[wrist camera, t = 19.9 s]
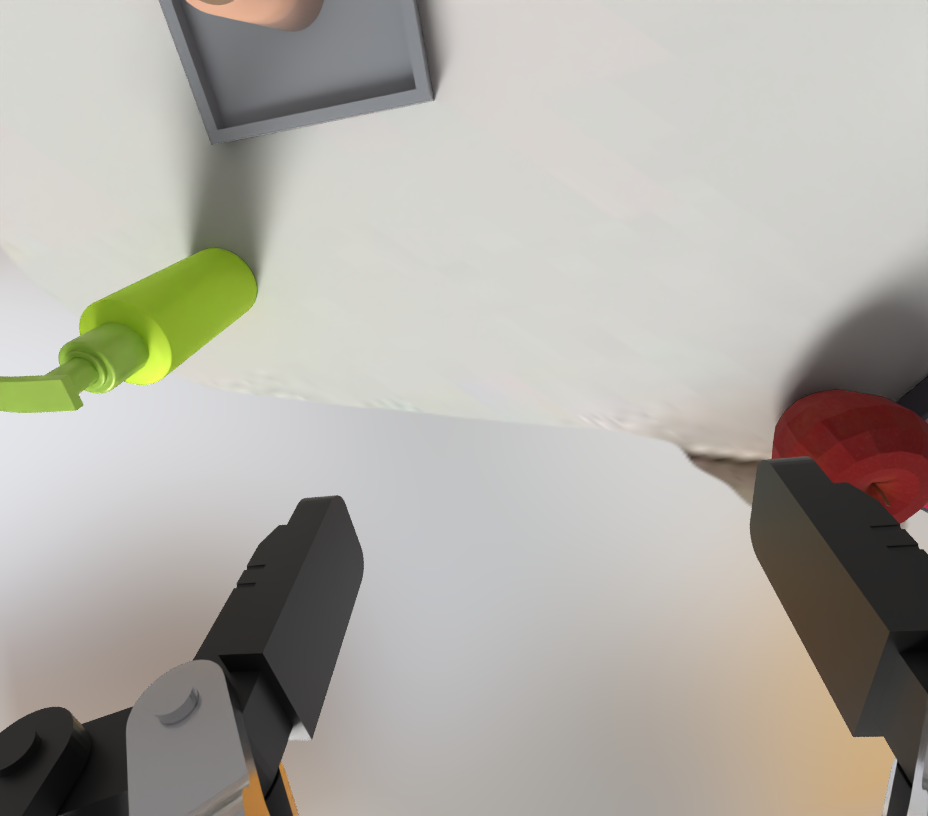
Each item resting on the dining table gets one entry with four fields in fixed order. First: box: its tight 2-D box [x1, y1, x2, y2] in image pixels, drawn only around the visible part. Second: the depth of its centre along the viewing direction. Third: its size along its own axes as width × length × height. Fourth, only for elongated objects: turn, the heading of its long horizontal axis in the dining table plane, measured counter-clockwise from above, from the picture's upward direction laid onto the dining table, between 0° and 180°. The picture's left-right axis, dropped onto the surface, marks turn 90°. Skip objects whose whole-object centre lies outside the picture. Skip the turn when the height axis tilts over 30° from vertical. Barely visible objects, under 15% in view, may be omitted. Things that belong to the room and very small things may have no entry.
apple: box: [772, 389, 928, 524], centre depth 42 cm, size 11×11×12 cm
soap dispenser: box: [0, 248, 257, 413], centre depth 36 cm, size 6×7×20 cm
